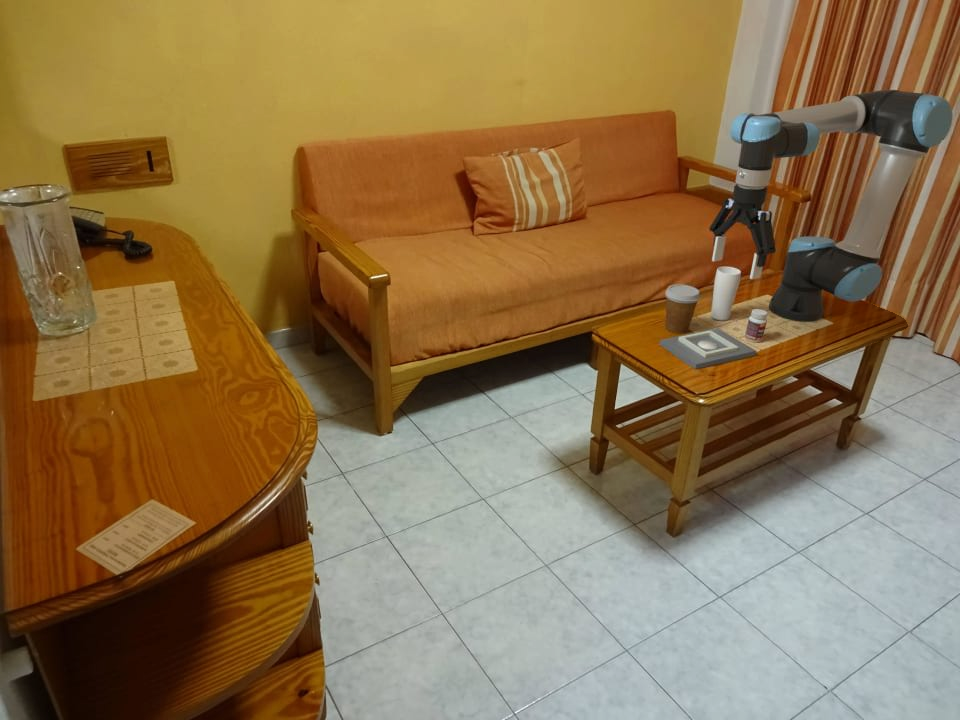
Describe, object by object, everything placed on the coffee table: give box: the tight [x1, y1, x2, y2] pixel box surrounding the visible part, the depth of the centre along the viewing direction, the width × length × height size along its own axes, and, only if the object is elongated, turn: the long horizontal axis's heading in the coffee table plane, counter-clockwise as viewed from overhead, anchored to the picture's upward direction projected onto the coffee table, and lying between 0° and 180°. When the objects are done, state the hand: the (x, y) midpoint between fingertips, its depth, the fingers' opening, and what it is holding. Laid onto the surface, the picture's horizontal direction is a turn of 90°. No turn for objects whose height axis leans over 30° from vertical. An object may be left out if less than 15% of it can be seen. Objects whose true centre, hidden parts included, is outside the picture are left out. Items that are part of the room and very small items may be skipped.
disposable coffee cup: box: [664, 284, 701, 334], centre depth 193 cm, size 10×10×12 cm
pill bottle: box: [744, 308, 768, 343], centre depth 189 cm, size 5×5×8 cm
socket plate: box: [659, 327, 757, 370], centre depth 183 cm, size 20×15×2 cm
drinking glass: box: [710, 266, 742, 322], centre depth 199 cm, size 7×7×15 cm
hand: (735, 269), depth 173 cm, fingers open, 13 cm apart
